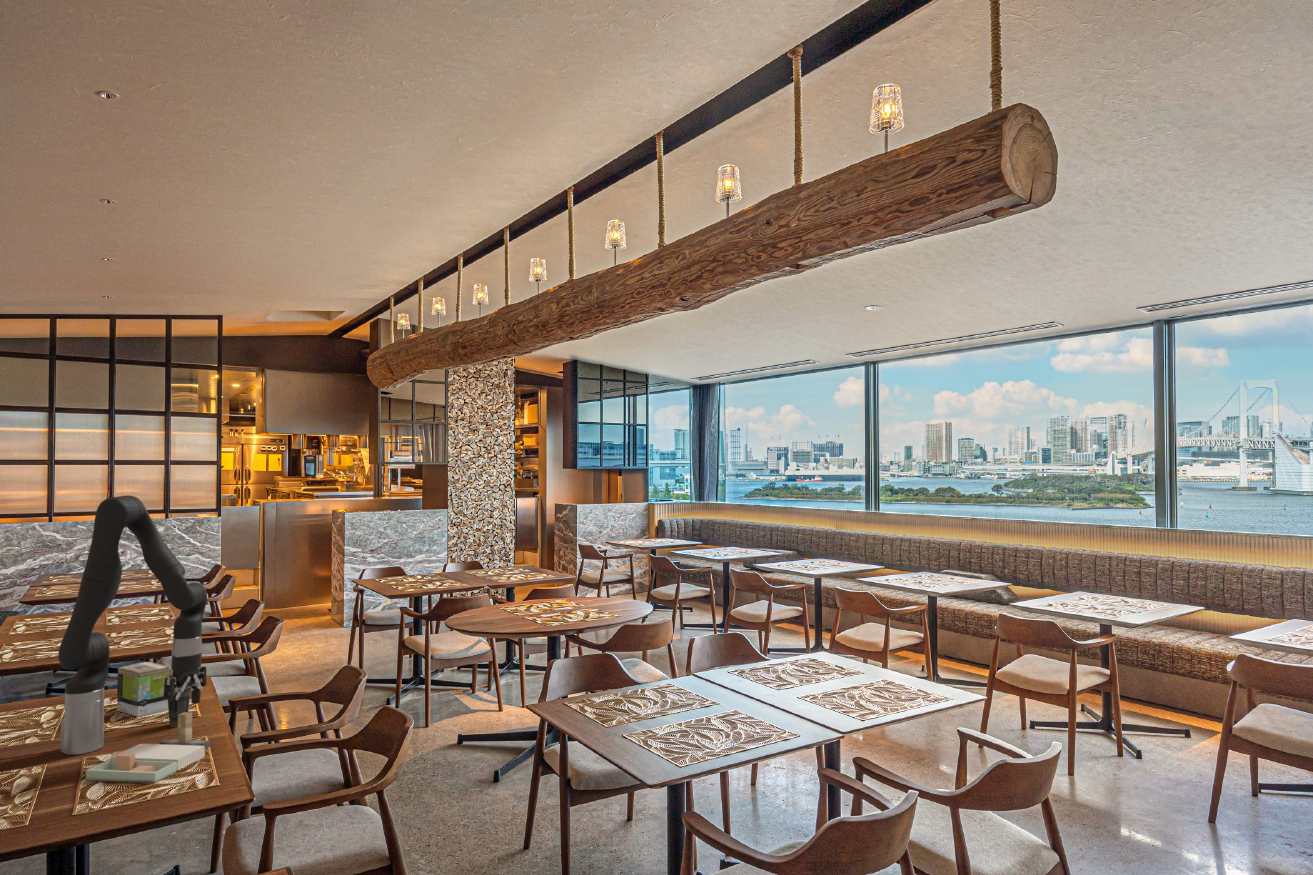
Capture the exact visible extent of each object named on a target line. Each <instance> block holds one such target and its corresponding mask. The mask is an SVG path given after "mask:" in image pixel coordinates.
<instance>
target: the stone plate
mask: <svg viewBox="0 0 1313 875" xmlns="http://www.w3.org/2000/svg"><path fill="white" fill-rule="evenodd" d="M205 751H206V749H205V746H193V745H164V744H160V743H140V744H137V745H134V746H132V747H130V748H128V749H126V750H124V751H122V752H120V753H117V754H114V755H112V756H110V759H116V756H117V755H119V754H122V753H128V754H135V760H145V761H172V762H177V770H179V771H180V770H182V769H184V768H186V767H188V766H190V765H191V763H192V764H193V762H194V763H196V762H197V761H199V760H201V759H203V758H205V753H206V752H205ZM195 761H196V762H195ZM189 764H190V765H189ZM187 765H188V766H187ZM185 766H186V767H185ZM181 768H182V769H181Z"/></svg>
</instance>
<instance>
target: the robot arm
mask: <svg viewBox="0 0 1313 875" xmlns="http://www.w3.org/2000/svg"><path fill="white" fill-rule="evenodd" d="M124 528H126V529H128V530H129V531H130V532H131V533H132V534H133V535H134V537H135V538H136V539H137V541H138V543H139V545H140V548H141V549H140V550H141V551H142V552H141V553H142V557H143V559H144V561H145V564H146V565H147V567H148V569H149V570H150V571H151V573H152V574H153V576H155V578H156V579H157V580H158V581H159V582H160V585H161V587H162V589H163V592H164V594H165V596H166V598H167V601H168V602H169V604H171V605H172V606H173V607H174V608H175V609H177V610H180V613H179V616H177V618H176V619H175V620H174V623H173V635H172V636H173V637H172V638H173V639H172V645H171V663H170V664H171V666H170V667H171V670H172V671H173V672H174V673H173V676H172V677H169V678H165V682H164V695H163V699H168V700H169V701H170V703H169V711H170V713H177V712H178V711H179V699H178V698H179V696H180V694H181V693H182V692H183V691H184V689H185V688H187V687H189V686H190V687H191V697H190V698H191V704H195V705H197V704H199V703H200V702H201V691H202V690H203V687H206V686H207V685H208V684H207V682H208V681H207V666H202V659H203V658H202V655H203V654H202V653H203V650H202V649H203V641H202V640H203V638H202V627H203V626H202V625H203V624H202V621H203V617H204V614H205V610H206V605H207V602H208V592H207V589H206V587H205V586H204V585H203V584H202V583H199V582H189V583H188V582H187V580H186V578H185V577H184V576H185V574H186V569H185V567H184V565H182V563H181V562H180V560H179V559H178V558H177V557H176V556H175V554H174V553H173V551H171V549H170V548H169V546H168V545H167V544H166V542H165V541H164V539H163V537H162V535H161V534H160V532H159V530H158V529H157V526H156V524H155V523H154V521H153V519H152V518H151V516H150V513H149V512H148V510H147V508H146V507H145V505H144V503H143V502H142V500H140V498H138V497H136V496H134V495H120V496H111V497H107V498H105V499H103V501H101V502H100V503H99V505H98V506H97V509H96V511H95V517H94V524H93V530H92V538H91V543H90V547H89V551H88V555H87V559H86V563H85V567H84V569H83V572H82V577H81V581H80V583H79V589H78V594H77V596H76V600H75V604H74V607H73V611H72V613H71V615H70V620H69V622H68V625H67V627H66V629H65V632H64V634H63V637H62V640H61V643H60V645H59V648H58V655H57V657H58V661H59V664H60V666H61V667H62V668H63V669H65V670H67V671H68V670H69V671H73V670H74V671H75V670H78V671H77V672H76V673H75V675H74V676H72V677H71V678H70V679H69V680H67V681H66V683H65V685H64V717H63V718H62V719H61V721H60V722H61V723H60V724H61V725H60V753H63V754H65V755H68V756H69V755H71V756H72V755H74V756H75V755H83V754H87V753H92V752H94V751H97V750H99V749H101V748H103V747H104V740H105V738H104V735H105V733H104V732H105V683H106V681H107V678H108V675H109V674H108V673H109V663H110V651H111V650H110V649H111V648H110V643H109V639H108V638H107V636H106V635H105V634H103V633H102V632H97V631H94V632H93V630H94V627H95V625H96V623H97V621H98V620H99V618H100V617H101V616H102V615H103V613H104V612H105V611H106V610H107V608H108V607H109V606H110V604H111V603H112V602H113V600H114V599H115V598H116V596H117V593H118V592H119V591H118V590H119V587H120V583H121V579H122V575H123V566H122V561H121V558H120V553H119V546H120V540H121V537H122V534H123V531H124ZM201 679H202V681H201ZM176 686H177V687H178V688H176ZM168 691H170V694H169V695H168ZM175 692H177V693H176V695H174V693H175ZM169 711H168V712H169Z"/></svg>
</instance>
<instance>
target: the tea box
mask: <svg viewBox="0 0 1313 875" xmlns="http://www.w3.org/2000/svg"><path fill="white" fill-rule="evenodd" d="M165 678H170V666H168V665H164V664H160V663H155V662H150V661H144V662H139V663H135V664H130V665H129V664H128V665H125V666H120V667H118V668H117V688H116V691H117V692H116V693H117V696H116V697H117V698H116V710H117V711H118V712H122V713H125V714H129V715H131V716H133V717H137V718H138V717H139V718H140V717H143V716H148V715H151V714H155V713H156V714H157V713H159V712H163V711H167V710H168V699H163V695H164V682H165Z"/></svg>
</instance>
